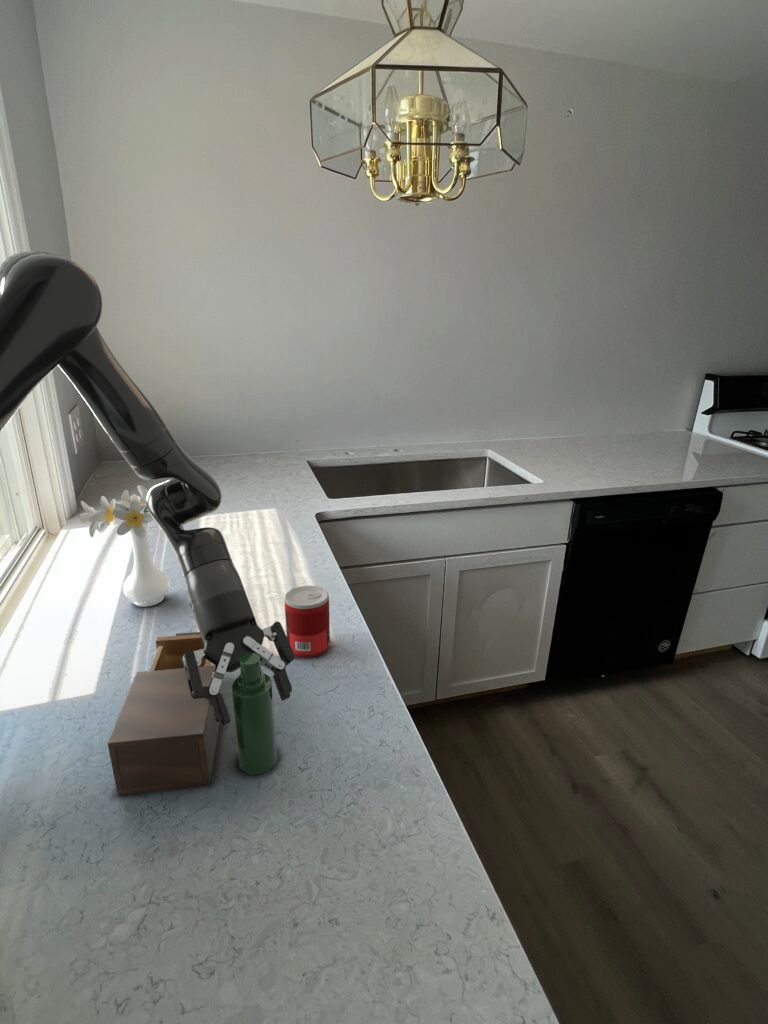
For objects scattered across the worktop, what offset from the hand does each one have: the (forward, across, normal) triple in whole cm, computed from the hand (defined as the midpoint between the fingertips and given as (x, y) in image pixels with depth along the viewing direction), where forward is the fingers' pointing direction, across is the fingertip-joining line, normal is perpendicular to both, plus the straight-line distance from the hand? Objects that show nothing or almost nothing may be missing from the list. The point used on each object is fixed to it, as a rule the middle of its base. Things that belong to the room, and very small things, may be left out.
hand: (257, 710), depth 74 cm
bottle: (+6, 0, +8) cm, 10 cm away
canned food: (-9, +19, +22) cm, 31 cm away
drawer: (-9, -3, +22) cm, 24 cm away
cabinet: (0, -9, +14) cm, 17 cm away
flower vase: (-33, -1, +47) cm, 58 cm away
